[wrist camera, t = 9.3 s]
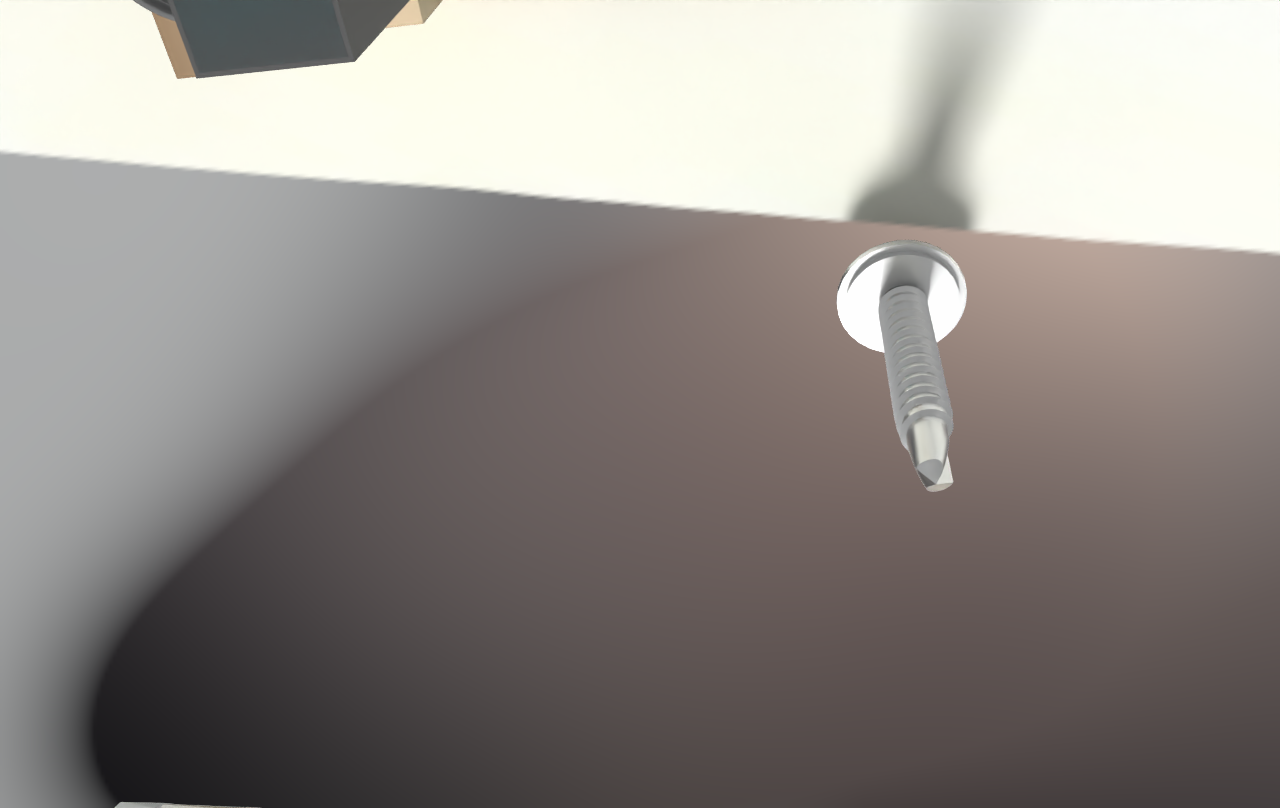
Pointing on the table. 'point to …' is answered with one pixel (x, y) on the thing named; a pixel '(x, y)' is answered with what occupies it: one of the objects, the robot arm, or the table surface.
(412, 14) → the wooden box
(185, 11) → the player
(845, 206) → the table surface
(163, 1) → the can
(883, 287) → the screw
